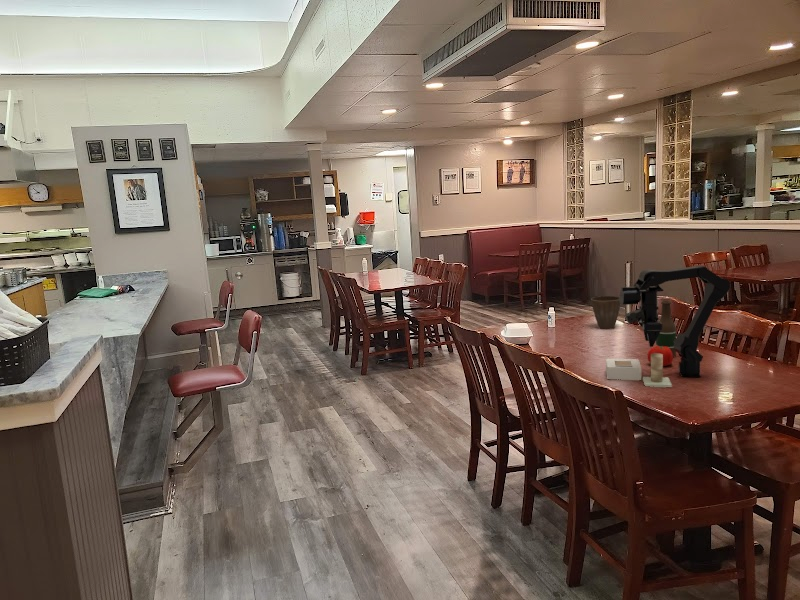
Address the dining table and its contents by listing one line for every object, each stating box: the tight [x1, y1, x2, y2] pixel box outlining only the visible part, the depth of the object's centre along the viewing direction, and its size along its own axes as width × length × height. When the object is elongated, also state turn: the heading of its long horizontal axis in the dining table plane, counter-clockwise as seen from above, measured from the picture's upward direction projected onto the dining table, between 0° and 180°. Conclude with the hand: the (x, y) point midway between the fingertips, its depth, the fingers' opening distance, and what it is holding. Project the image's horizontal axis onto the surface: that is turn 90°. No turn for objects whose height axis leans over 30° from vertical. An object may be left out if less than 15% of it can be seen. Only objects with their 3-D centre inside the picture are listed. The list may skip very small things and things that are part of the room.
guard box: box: [605, 358, 642, 381], centre depth 220 cm, size 12×12×5 cm
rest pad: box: [641, 376, 673, 388], centre depth 209 cm, size 9×9×1 cm
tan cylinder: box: [650, 353, 664, 382], centre depth 208 cm, size 4×4×10 cm
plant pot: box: [590, 295, 621, 330], centre depth 301 cm, size 15×15×16 cm
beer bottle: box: [655, 300, 677, 358], centre depth 241 cm, size 8×8×24 cm
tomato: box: [647, 345, 674, 367], centre depth 231 cm, size 9×9×8 cm
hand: (649, 343), depth 215 cm, fingers open, 9 cm apart
